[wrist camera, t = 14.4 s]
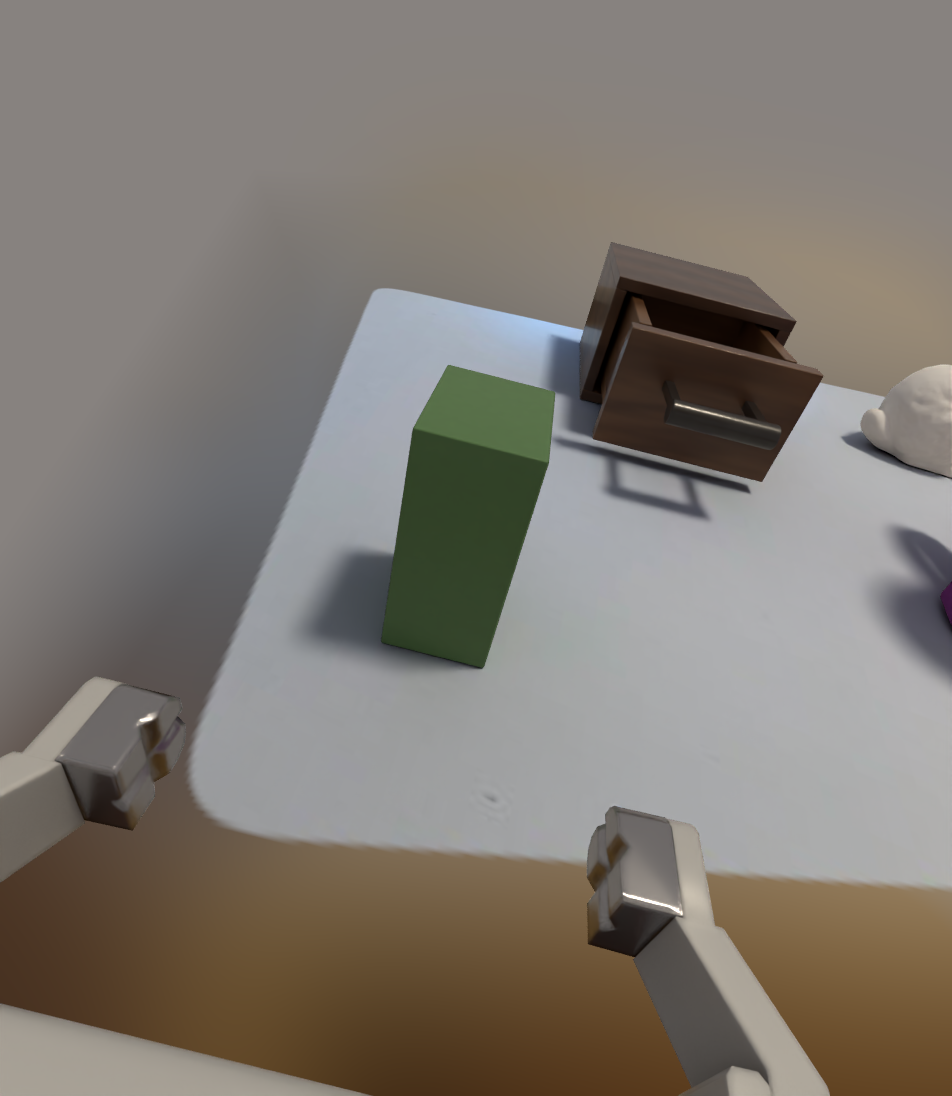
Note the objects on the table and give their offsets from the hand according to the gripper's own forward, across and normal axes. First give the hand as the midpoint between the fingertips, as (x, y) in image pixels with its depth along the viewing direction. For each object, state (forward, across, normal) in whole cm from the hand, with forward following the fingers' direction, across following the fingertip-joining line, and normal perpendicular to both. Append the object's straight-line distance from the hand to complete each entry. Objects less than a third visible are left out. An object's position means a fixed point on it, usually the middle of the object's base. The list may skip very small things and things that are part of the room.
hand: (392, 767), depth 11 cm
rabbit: (+45, -37, +7) cm, 58 cm away
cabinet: (+46, -12, +6) cm, 48 cm away
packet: (+12, 0, +7) cm, 13 cm away
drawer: (+34, -12, +6) cm, 36 cm away
